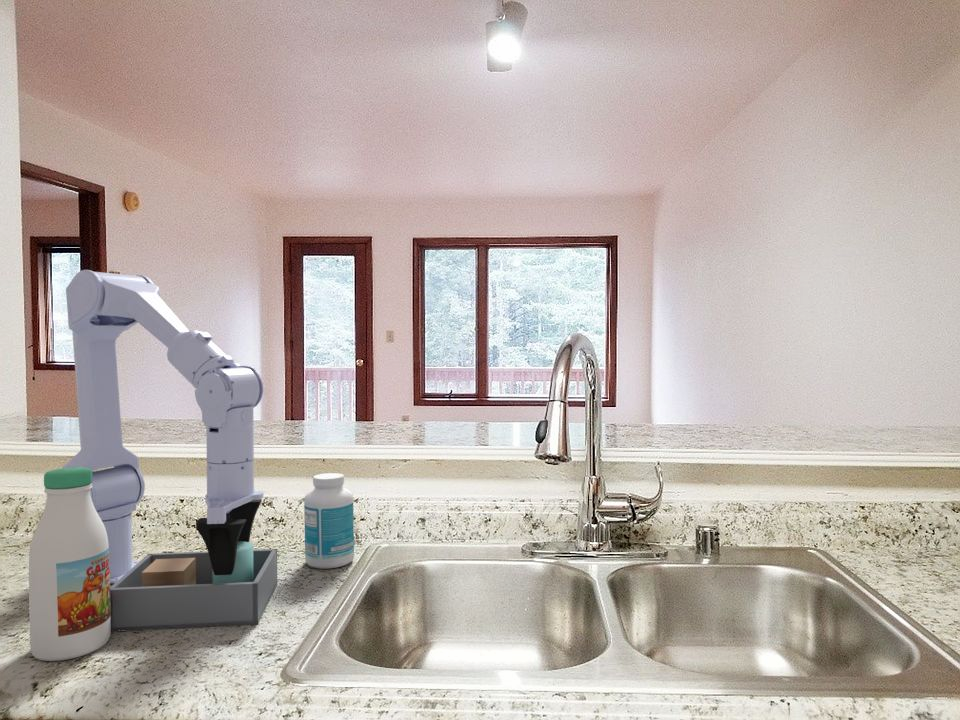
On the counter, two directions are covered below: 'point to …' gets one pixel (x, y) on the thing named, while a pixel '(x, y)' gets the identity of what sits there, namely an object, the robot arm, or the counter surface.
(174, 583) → the walnut cube
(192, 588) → the tote
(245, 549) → the teal cylinder
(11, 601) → the counter surface
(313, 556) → the pill bottle
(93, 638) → the milk bottle
